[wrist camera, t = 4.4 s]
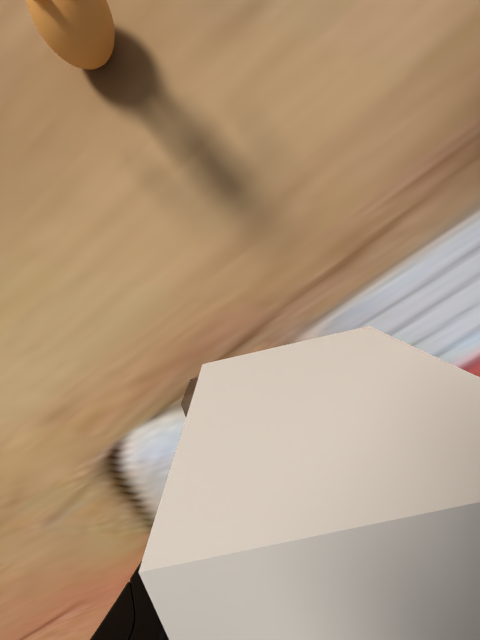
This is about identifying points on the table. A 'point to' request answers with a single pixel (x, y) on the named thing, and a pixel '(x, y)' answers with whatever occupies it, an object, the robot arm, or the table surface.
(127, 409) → the table surface
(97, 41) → the figurine
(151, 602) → the robot arm
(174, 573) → the off-white cube
